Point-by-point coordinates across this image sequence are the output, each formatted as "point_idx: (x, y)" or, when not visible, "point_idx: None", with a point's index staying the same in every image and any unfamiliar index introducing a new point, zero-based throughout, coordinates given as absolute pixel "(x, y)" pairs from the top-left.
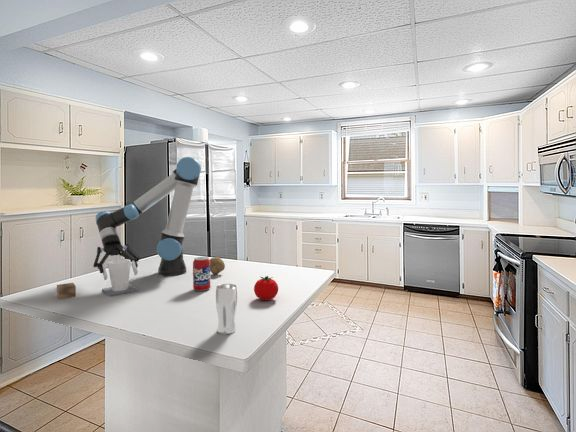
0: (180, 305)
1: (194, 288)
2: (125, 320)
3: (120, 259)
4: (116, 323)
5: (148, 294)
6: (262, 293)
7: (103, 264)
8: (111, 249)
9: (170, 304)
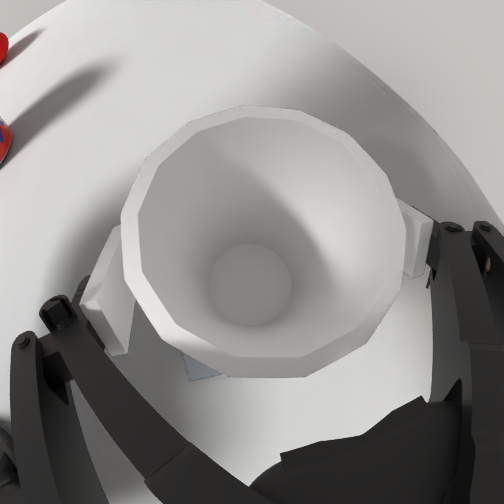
0: (110, 47)
1: (10, 137)
2: (252, 15)
3: (247, 356)
4: (270, 12)
5: (135, 157)
6: (7, 38)
7: (425, 222)
8: (474, 440)
9: (125, 54)
